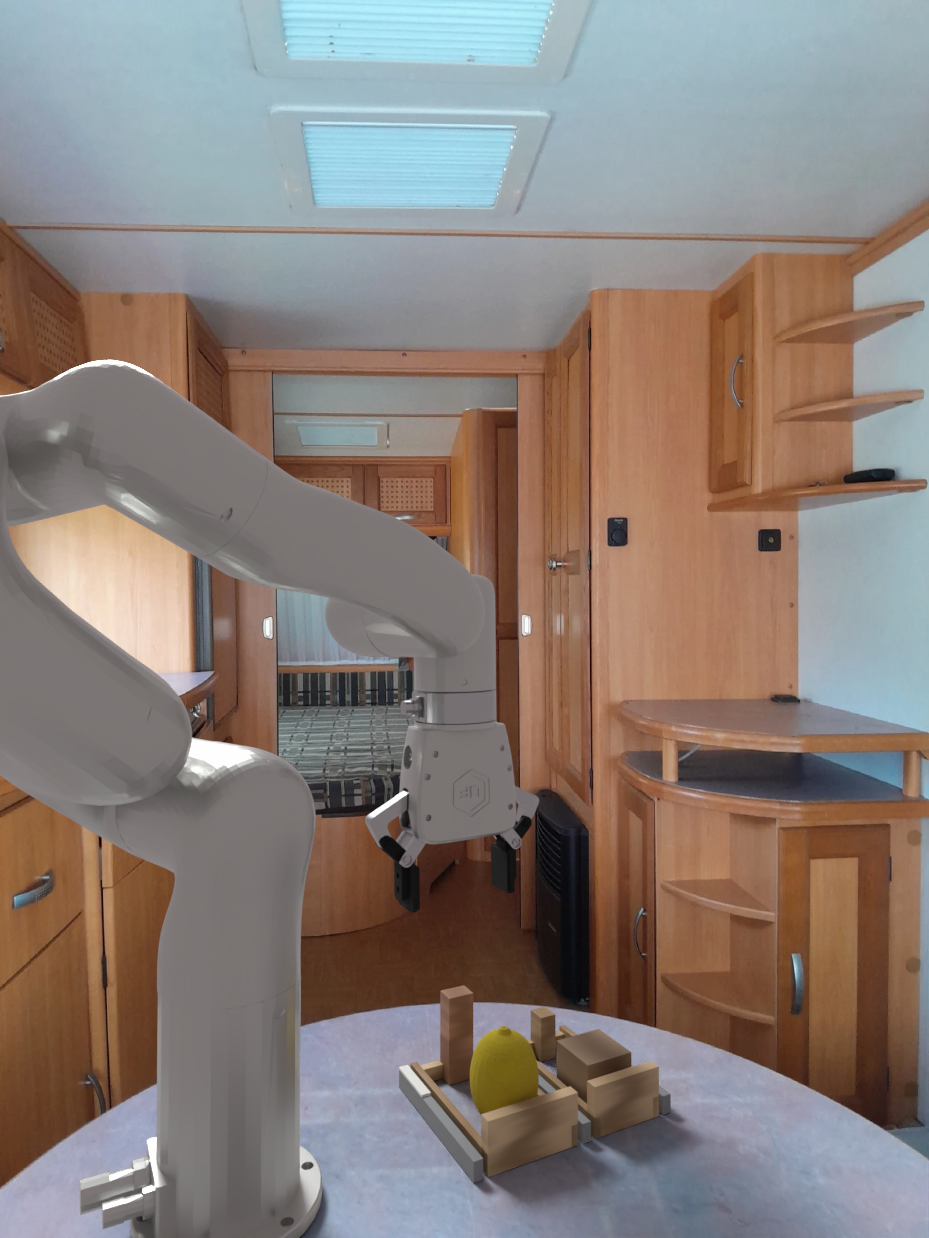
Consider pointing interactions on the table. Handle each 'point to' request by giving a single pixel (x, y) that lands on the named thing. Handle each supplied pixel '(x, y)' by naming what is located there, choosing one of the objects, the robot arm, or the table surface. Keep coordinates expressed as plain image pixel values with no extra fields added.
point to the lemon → (503, 1070)
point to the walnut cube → (589, 1059)
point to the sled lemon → (508, 1129)
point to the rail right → (664, 1101)
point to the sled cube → (600, 1082)
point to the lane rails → (451, 1133)
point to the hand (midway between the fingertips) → (457, 898)
